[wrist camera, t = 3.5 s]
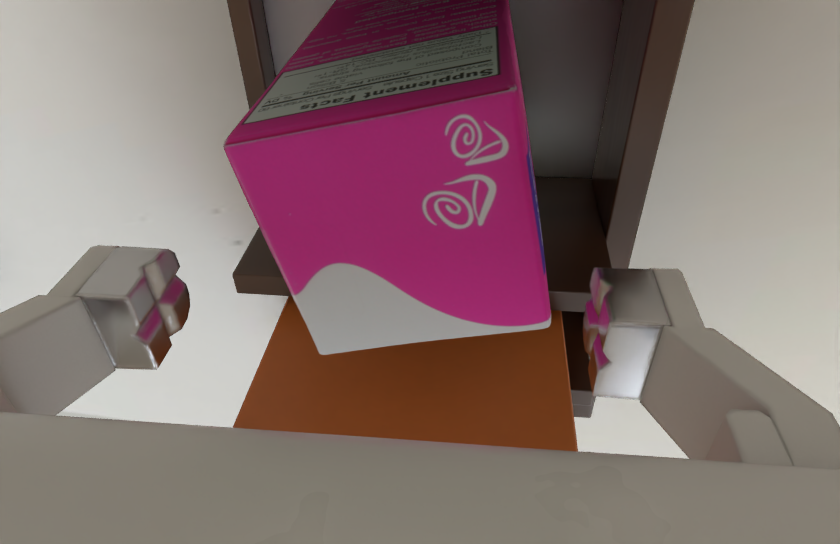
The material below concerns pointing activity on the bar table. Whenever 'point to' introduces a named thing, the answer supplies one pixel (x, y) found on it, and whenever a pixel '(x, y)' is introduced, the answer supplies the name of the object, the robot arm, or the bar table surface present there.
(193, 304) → the bar table surface
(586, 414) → the book rack
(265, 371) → the orange book
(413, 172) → the supplement box
